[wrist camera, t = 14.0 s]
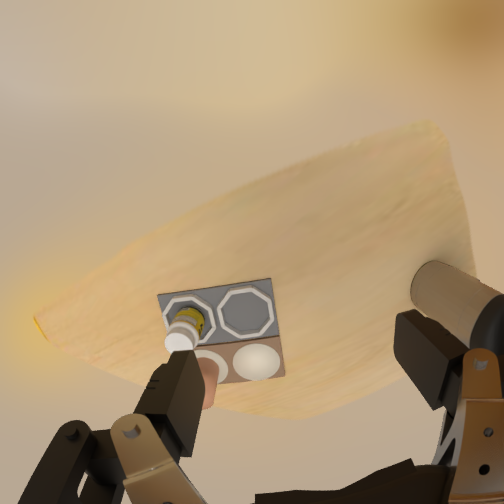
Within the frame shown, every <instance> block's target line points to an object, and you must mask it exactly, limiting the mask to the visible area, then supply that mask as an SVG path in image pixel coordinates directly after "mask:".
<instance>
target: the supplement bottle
mask: <svg viewBox="0 0 504 504" xmlns="http://www.w3.org/2000/svg"><path fill="white" fill-rule="evenodd" d="M204 325H205V316H204V314H203V312H202V311H201V310H200V309H198V308H197V307H194V306H184V307H182V308H181V309H180V310H179V311H178V312H177V314H176V316H175V317H174V319H173V321H172V322H171V324H170V326H169V327H168V330H167V336H166V338H165V347H166V349H167V350H168V352H169V353H171V354H172V352H173V351H180V350H193V349H194V348H195V347H196V346H197V344H198V342H199V339H200V336H201V333H202V331H203V328H204Z"/></svg>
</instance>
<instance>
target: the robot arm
mask: <svg viewBox="0 0 504 504" xmlns="http://www.w3.org/2000/svg"><path fill="white" fill-rule="evenodd" d="M411 298H412V301H413V303H414V305H415V306H416V307H418V308H419V309H420V310H421V311H422V312H424V313H425V314H426V315H427V316H428V317H430V318H428V317H426V318H425V317H424V316H423V315H422V314H421V313H419V312H418V311H417V310H416V309H412V310H409V311H405V312H402V313H399V314H397V316H396V323H395V336H394V354H395V357H396V360H397V361H398V362H399V364H400V365H401V366H402V368H403V369H404V371H405V372H406V373H407V375H408V376H409V377H410V379H411V380H412V381H413V383H414V384H415V386H416V387H417V388H418V390H419V391H420V392H421V394H422V395H423V397H424V398H425V400H426V401H427V403H428V404H429V405H430V407H431V408H432V410H433V411H434V410H436V409H438V408H440V407H442V406H444V407H445V408H446V410H445V413H444V417H443V422H442V428H441V432H440V437H439V441H438V445H437V450H436V453H435V456H434V459H433V461H432V463H431V465H418V466H414V464H413V461H412V459H411V458H410V459H407V460H405V461H402V462H400V463H397V464H395V465H392V466H389V467H387V468H384V469H381V470H378V471H376V472H374V473H372V474H370V475H368V476H367V477H365V478H363V479H361V480H359V481H357V482H355V483H353V484H351V485H349V486H347V487H345V488H343V489H340V490H330V491H309V490H307V491H306V490H292V491H284V492H275V493H263V494H255V503H252V504H504V294H502V293H500V292H499V291H497V290H495V289H493V288H491V287H489V286H487V285H485V284H483V283H481V282H480V280H478V279H476V278H474V277H472V276H470V275H468V274H466V273H464V272H462V271H460V270H458V269H456V268H454V267H452V266H450V265H445V264H443V263H441V262H438V261H431V262H429V263H427V264H425V265H424V266H422V267H421V268H420V270H419V271H418V272H417V274H416V275H415V277H414V280H413V282H412V286H411ZM204 398H205V382H204V379H203V376H202V373H201V370H200V367H199V364H198V361H197V358H196V355H195V353H194V351H193V350H180V351H173V352H172V354H171V356H170V359H169V361H168V363H167V364H162V365H161V366H160V367H158V368H157V369H156V370H155V371H154V372H153V374H152V376H151V378H150V382H148V384H147V386H146V389H145V390H144V392H143V394H142V396H141V398H140V401H139V402H138V404H137V406H136V408H135V411H134V412H133V414H128V415H125V416H123V417H121V418H119V419H118V420H116V421H115V422H114V424H113V425H112V427H111V429H107V430H97V431H92V430H91V429H90V428H89V426H88V425H87V424H86V423H85V422H83V421H80V420H74V421H70V422H68V423H65V424H64V425H62V426H61V427H60V428H59V430H58V432H57V433H56V434H55V436H54V438H53V440H52V441H51V443H50V444H49V446H48V448H47V450H46V451H45V453H44V455H43V457H42V458H41V460H40V462H39V464H38V466H37V467H36V469H35V471H34V473H33V475H32V476H31V478H30V480H29V482H28V485H27V486H26V488H25V490H24V492H23V494H22V496H21V498H20V500H19V502H18V504H121V501H122V497H123V494H124V490H125V489H126V492H127V494H128V496H129V498H130V501H131V502H132V504H208V503H207V502H206V501H205V500H204V498H203V497H202V496H201V495H200V494H199V492H198V491H197V489H196V488H195V487H194V486H193V484H192V483H191V481H190V480H189V479H188V477H187V476H186V475H185V473H184V472H183V470H182V469H181V467H180V466H179V465H178V464H179V460H180V457H191V456H192V452H193V448H194V443H195V438H196V434H197V429H198V425H199V420H200V416H201V411H202V407H203V402H204ZM84 472H85V473H86V474H87V475H88V477H87V479H86V481H85V484H84V486H83V489H82V491H81V494H80V497H79V498H78V494H77V490H78V486H79V484H80V482H81V479H82V477H83V475H84Z"/></svg>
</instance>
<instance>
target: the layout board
mask: <svg viewBox="0 0 504 504" xmlns="http://www.w3.org/2000/svg"><path fill="white" fill-rule="evenodd" d="M157 297H158V301H159V304H160V307H161V311H162V317H163V320H164V323H165V326H166V329H167V330H168V327H169V326H170V324H171V322H172V321H173V319H174V317H175V316H176V314H177V312H178V311H179V310H180V309H181V308H182V307H184V306H194V307H197V308H198V309H200V310H201V311H202V312H203V314H204V316H205V325H204V328H203V331H202V333H201V336H200V339H199V342H198V344H197V346H196V347H195V348H194V349H193V351H194V353H195V355H196V358H197V361H198V364H199V367H200V370H201V373H202V376H203V379H204V382H205V398H204V402H203V407H202V410H203V409H208V408H210V407H211V406H212V405H213V403H214V397H215V392H216V386H217V384H225V383H236V382H246V381H259V380H264V379H270V378H277V377H283V376H285V370H284V364H283V357H282V350H281V343H280V337H279V330H278V323H277V317H276V310H275V304H274V297H273V291H272V285H271V278H268V279H262V280H256V281H250V282H243V283H237V284H230V285H224V286H217V287H210V288H203V289H196V290H189V291H182V292H174V293H167V294H159V295H157ZM274 335H277V336H274ZM267 336H271V337H267ZM260 337H264V338H260ZM253 338H257V339H253ZM246 339H250V340H246ZM238 340H242V341H238ZM230 341H234V342H230ZM221 342H226V343H221ZM212 343H217V344H212ZM202 344H207V345H202Z"/></svg>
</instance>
